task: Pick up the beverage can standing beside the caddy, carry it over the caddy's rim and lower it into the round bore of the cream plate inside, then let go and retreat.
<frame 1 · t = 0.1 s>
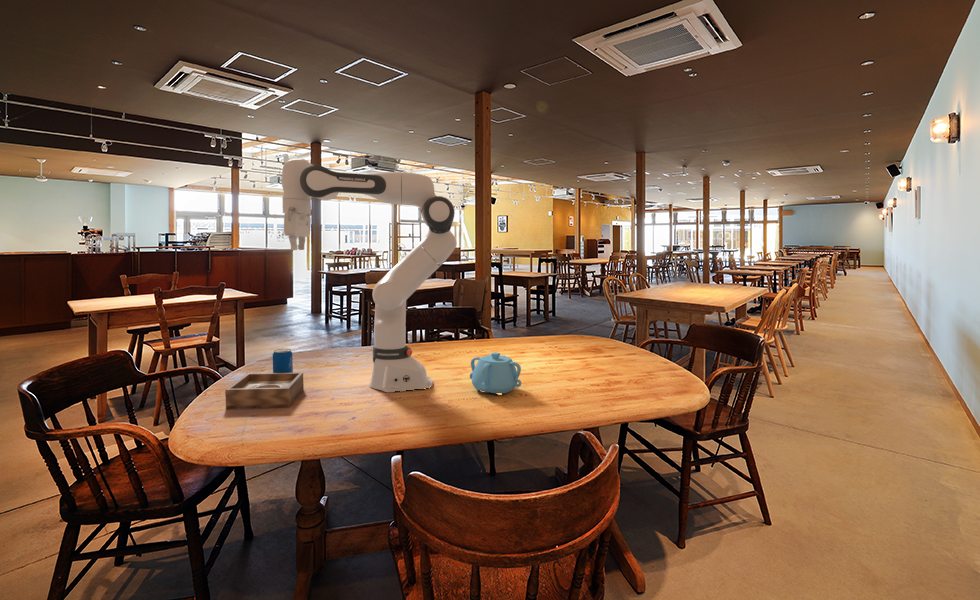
hand: (297, 250, 157), 48 cm above the table, tool pointing down, fingers open, 8 cm apart
beverage can: (283, 383, 166), on the table
caddy: (267, 398, 149), on the table
decorative pot: (494, 390, 164), on the table
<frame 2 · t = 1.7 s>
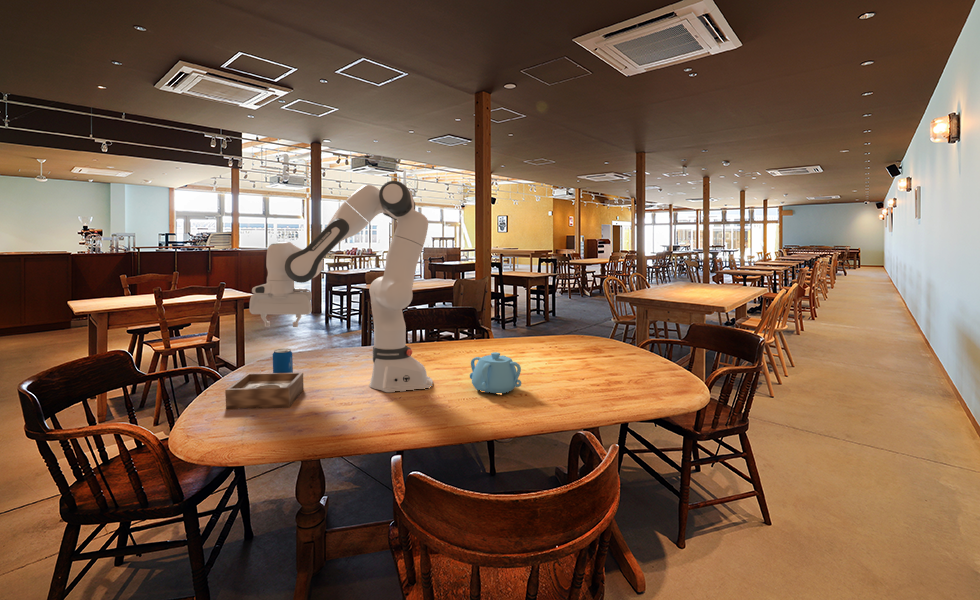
hand: (281, 326, 164), 20 cm above the table, tool pointing down, fingers open, 8 cm apart
nothing on the table moved.
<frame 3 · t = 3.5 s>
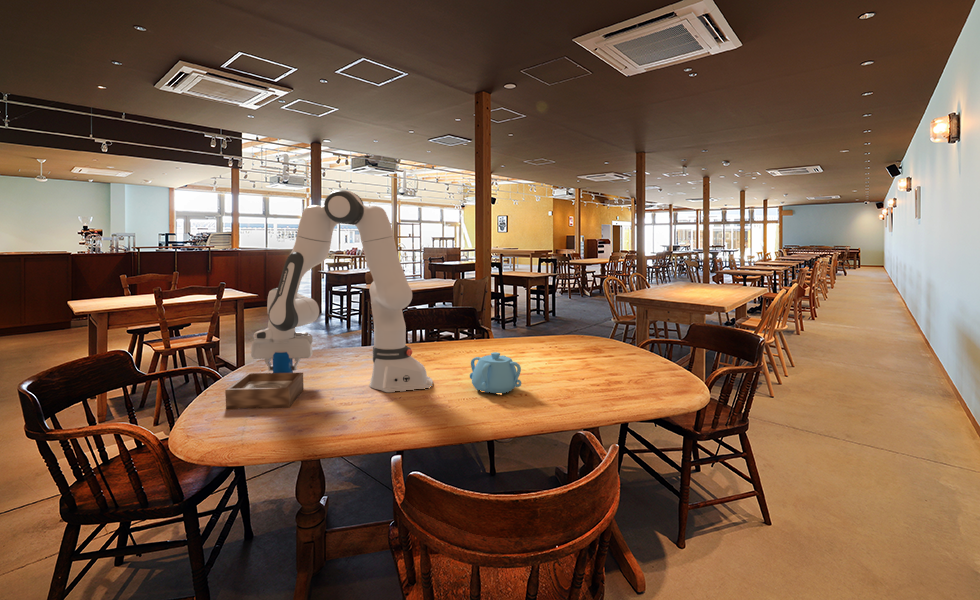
hand: (282, 370, 166), 5 cm above the table, tool pointing down, fingers closed on beverage can, 6 cm apart
beverage can: (283, 383, 166), on the table, touching gripper
everything else where it was.
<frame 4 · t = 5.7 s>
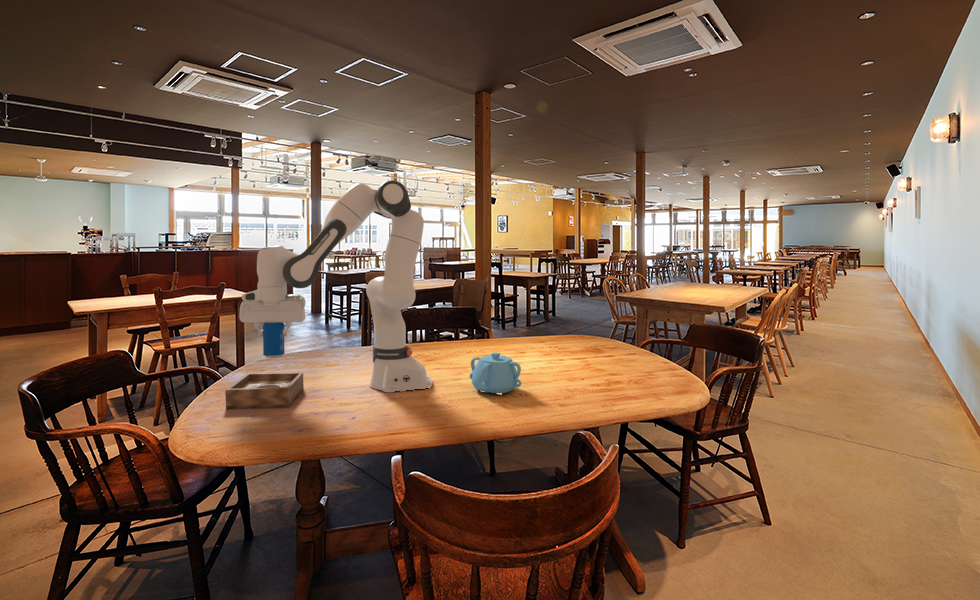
hand: (273, 335, 155), 19 cm above the table, tool pointing down, fingers closed on beverage can, 6 cm apart
beverage can: (274, 357, 156), point 12 cm above the table, touching gripper
everything else where it was.
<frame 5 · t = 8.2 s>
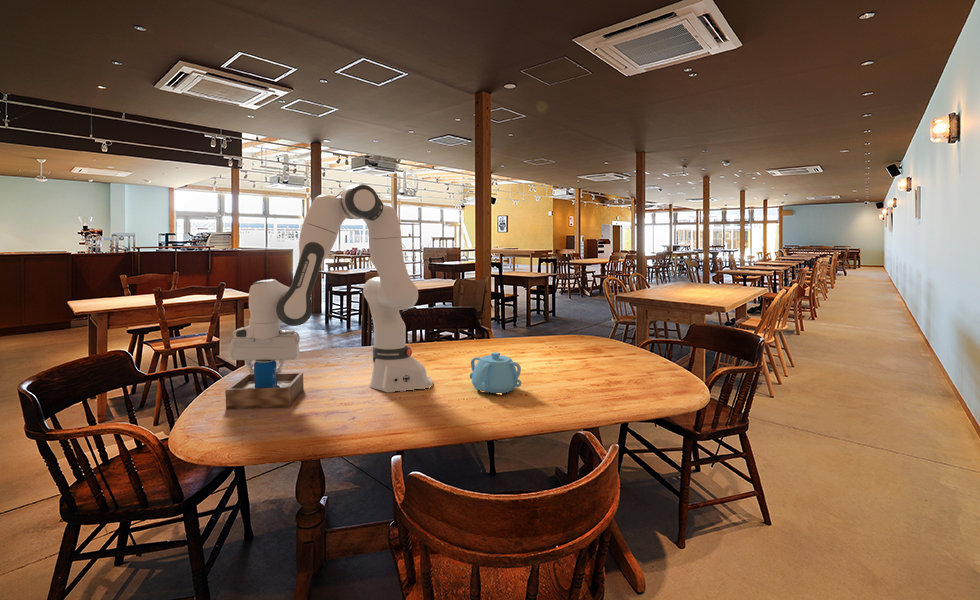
hand: (265, 373, 148), 9 cm above the table, tool pointing down, fingers closed on beverage can, 6 cm apart
beverage can: (266, 396, 149), point 1 cm above the table, touching caddy, gripper
everything else where it was.
when the fingers open (7 cm above the table, at t = 9.5 s): beverage can stays where it is, resting on caddy.
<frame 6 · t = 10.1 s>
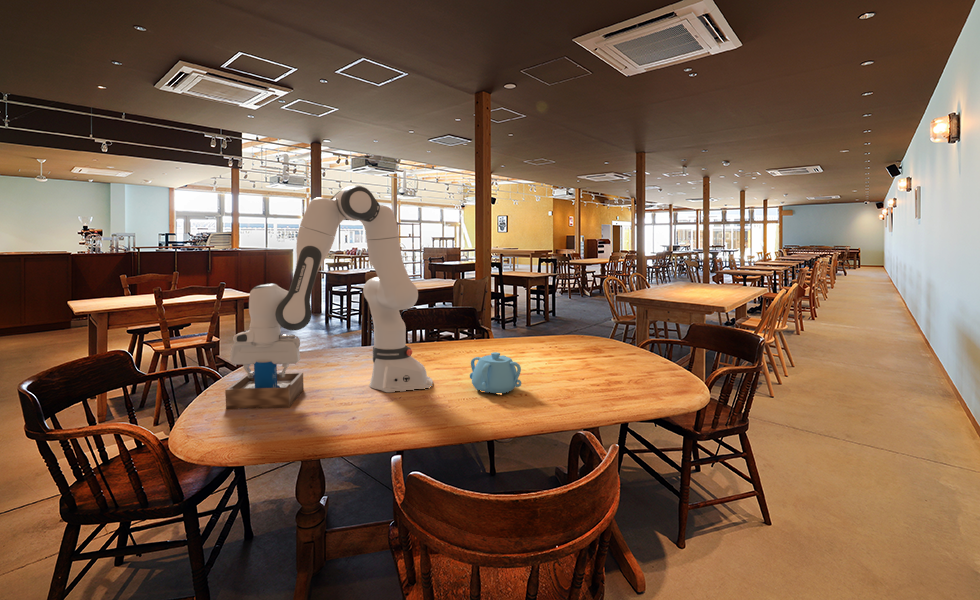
hand: (266, 377, 148), 7 cm above the table, tool pointing down, fingers open, 8 cm apart
beverage can: (266, 396, 149), point 1 cm above the table, touching caddy
everything else where it was.
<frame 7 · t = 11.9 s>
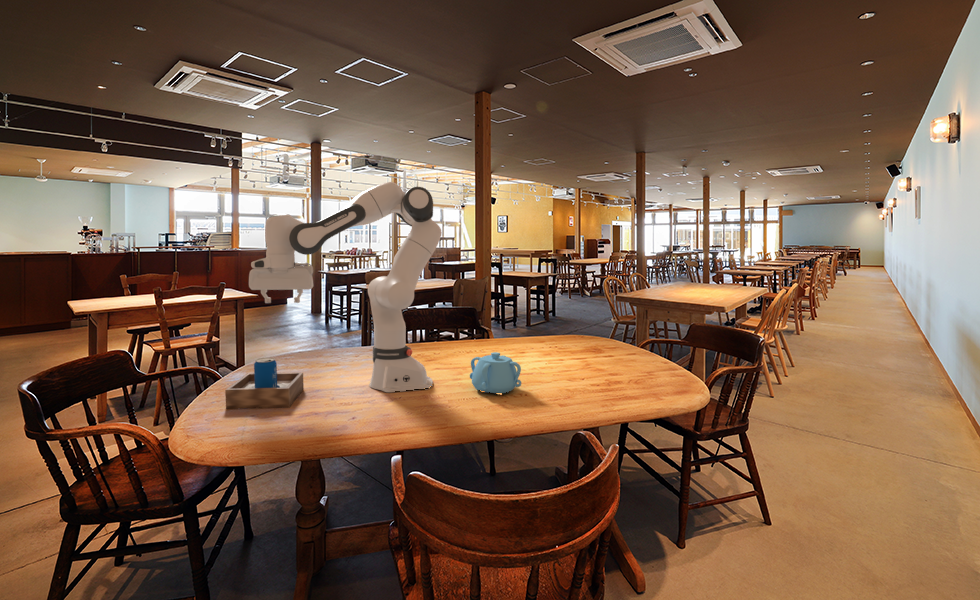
hand: (282, 302, 159), 30 cm above the table, tool pointing down, fingers open, 8 cm apart
nothing on the table moved.
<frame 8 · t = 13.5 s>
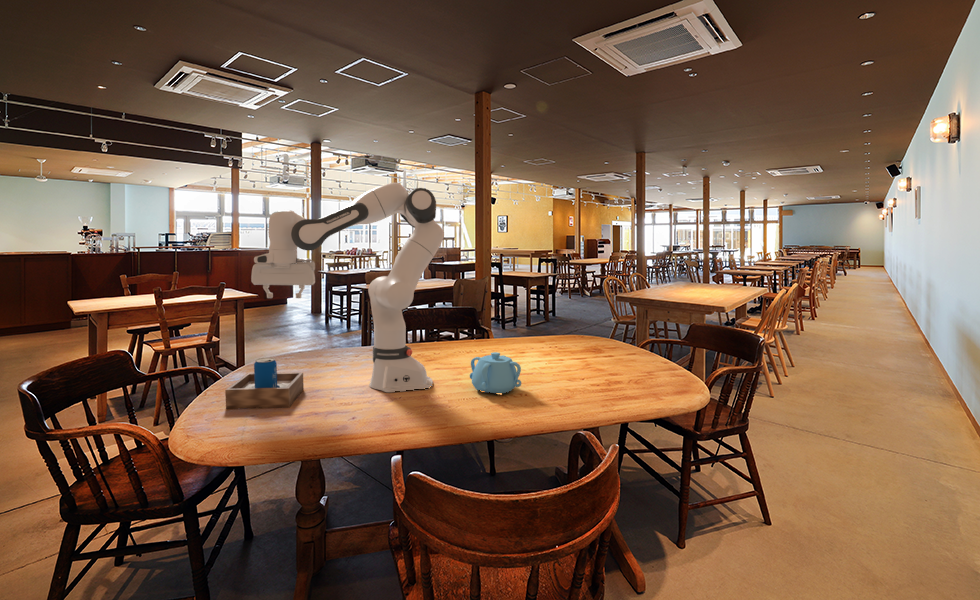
hand: (284, 298, 160), 31 cm above the table, tool pointing down, fingers open, 8 cm apart
nothing on the table moved.
at the end: beverage can 0.4 cm off-centre on the caddy, point 0.8 cm above the caddy's base; beverage can tilted 0°; the gripper is holding nothing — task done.
